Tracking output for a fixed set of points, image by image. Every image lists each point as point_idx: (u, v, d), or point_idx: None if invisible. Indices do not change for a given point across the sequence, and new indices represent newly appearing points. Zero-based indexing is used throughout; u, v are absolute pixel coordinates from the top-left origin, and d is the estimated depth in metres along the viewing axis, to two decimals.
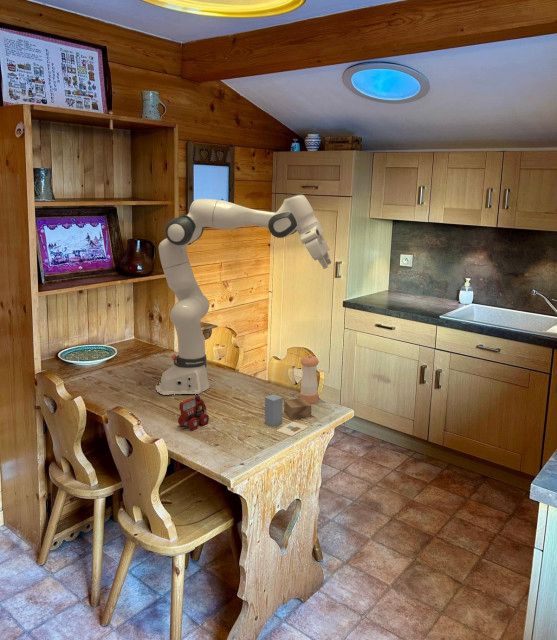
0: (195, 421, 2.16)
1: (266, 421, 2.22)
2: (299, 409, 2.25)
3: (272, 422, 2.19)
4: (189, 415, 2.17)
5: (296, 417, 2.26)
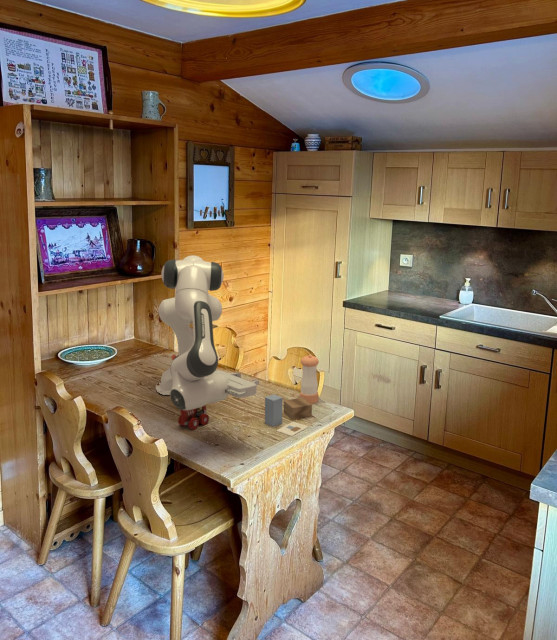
0: (195, 421, 2.16)
1: (266, 421, 2.22)
2: (300, 409, 2.26)
3: (272, 422, 2.19)
4: (189, 415, 2.17)
5: (297, 417, 2.26)
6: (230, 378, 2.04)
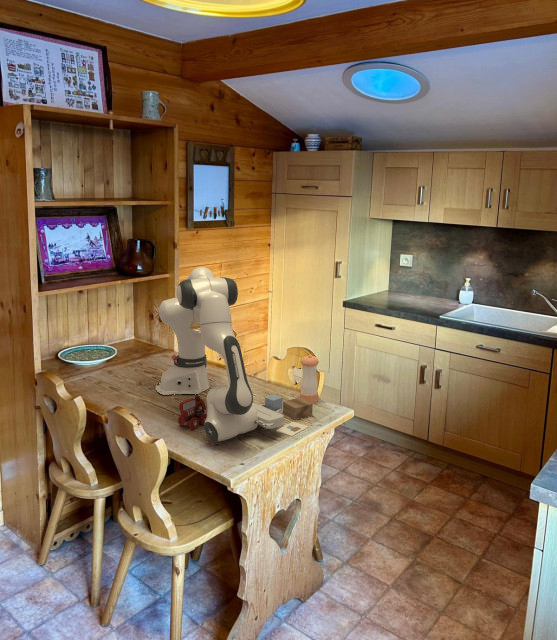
0: (195, 421, 2.16)
1: None
2: (302, 409, 2.26)
3: None
4: (189, 415, 2.17)
5: (299, 417, 2.26)
6: (258, 409, 2.16)
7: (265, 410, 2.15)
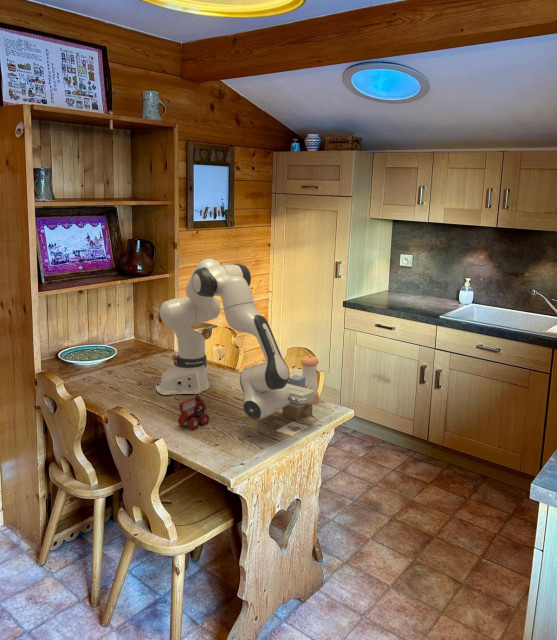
0: (195, 421, 2.16)
1: (290, 401, 2.28)
2: (303, 408, 2.26)
3: None
4: (189, 415, 2.17)
5: (301, 417, 2.26)
6: (287, 386, 2.21)
7: (294, 387, 2.21)
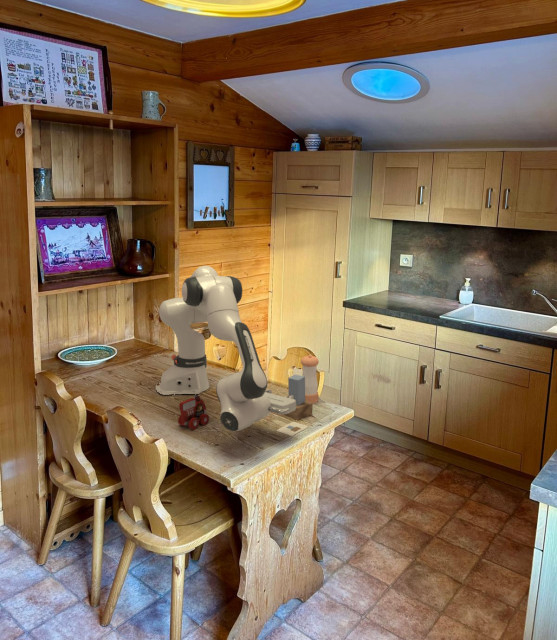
0: (195, 421, 2.16)
1: None
2: (303, 408, 2.26)
3: (297, 401, 2.26)
4: (189, 415, 2.17)
5: (301, 417, 2.26)
6: (267, 396, 2.11)
7: (275, 396, 2.11)
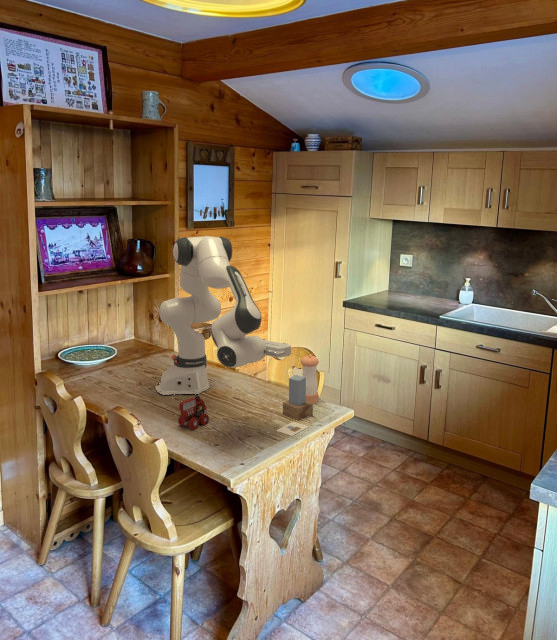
0: (195, 421, 2.16)
1: (290, 401, 2.28)
2: (303, 409, 2.26)
3: (297, 402, 2.26)
4: (189, 415, 2.17)
5: (301, 417, 2.26)
6: None
7: (270, 342, 2.12)
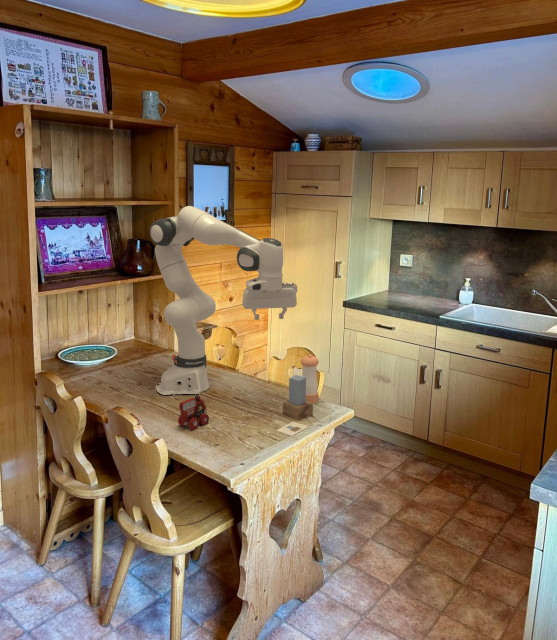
0: (195, 421, 2.16)
1: (290, 401, 2.28)
2: (303, 409, 2.26)
3: (297, 402, 2.26)
4: (189, 415, 2.17)
5: (301, 417, 2.26)
6: None
7: None
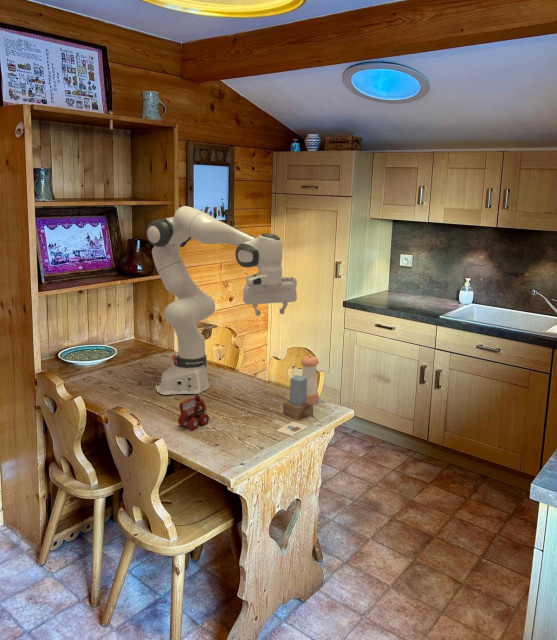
0: (195, 421, 2.16)
1: (291, 401, 2.28)
2: (303, 409, 2.26)
3: (298, 402, 2.26)
4: (189, 415, 2.17)
5: (301, 417, 2.26)
6: None
7: None
